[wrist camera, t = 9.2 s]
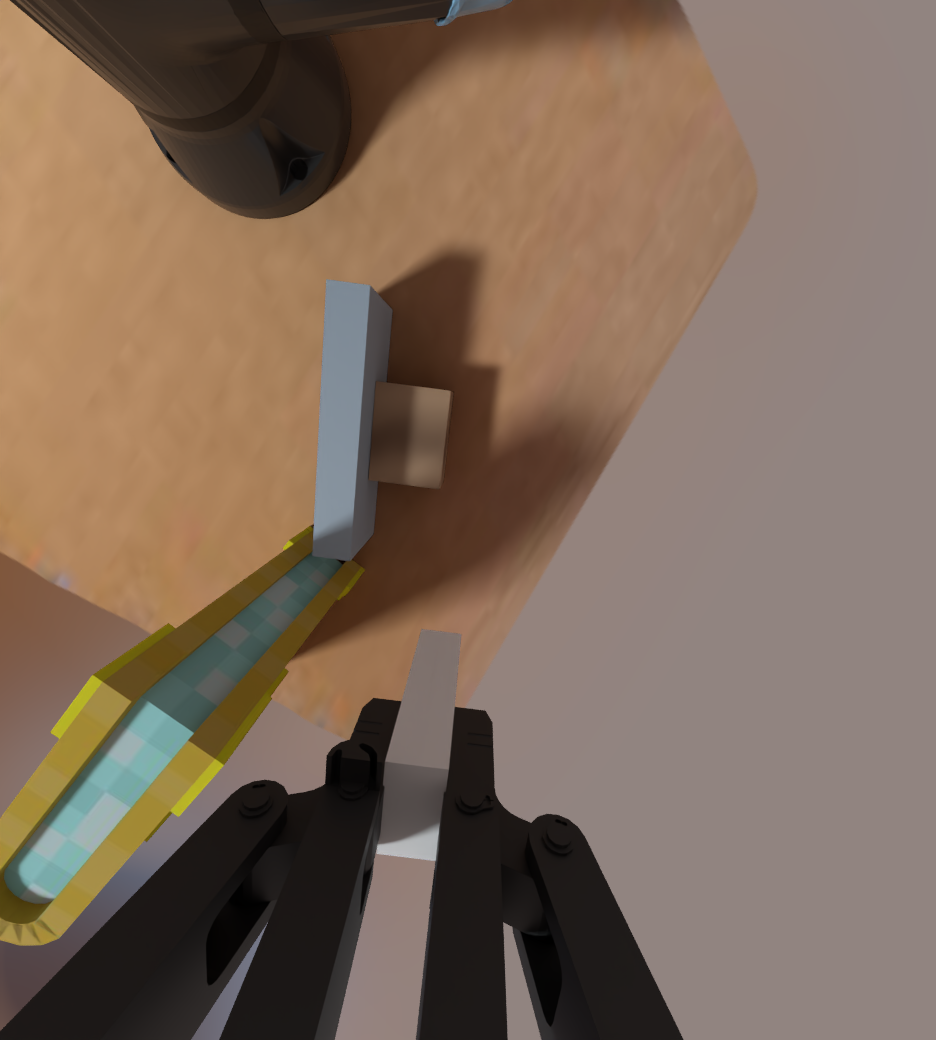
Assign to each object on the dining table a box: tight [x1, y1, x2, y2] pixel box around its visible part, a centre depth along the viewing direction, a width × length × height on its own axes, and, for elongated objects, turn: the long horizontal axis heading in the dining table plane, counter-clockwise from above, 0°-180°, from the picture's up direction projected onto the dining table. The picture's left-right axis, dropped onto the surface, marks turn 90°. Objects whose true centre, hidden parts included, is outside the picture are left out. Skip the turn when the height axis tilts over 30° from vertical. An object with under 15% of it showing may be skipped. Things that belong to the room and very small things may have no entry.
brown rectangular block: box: [368, 381, 454, 489], centre depth 39 cm, size 8×6×4 cm
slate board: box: [312, 279, 393, 561], centre depth 37 cm, size 20×3×8 cm, turn 173°
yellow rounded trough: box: [0, 526, 365, 945], centre depth 33 cm, size 17×7×25 cm, turn 139°
